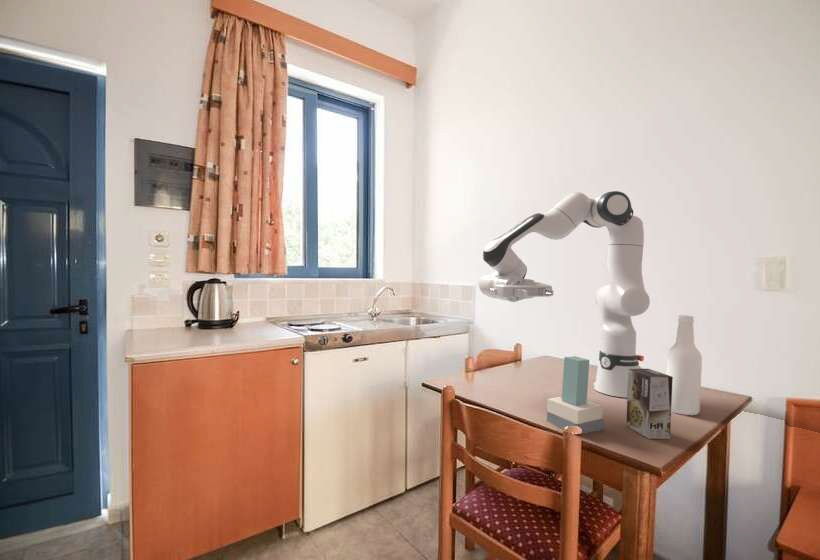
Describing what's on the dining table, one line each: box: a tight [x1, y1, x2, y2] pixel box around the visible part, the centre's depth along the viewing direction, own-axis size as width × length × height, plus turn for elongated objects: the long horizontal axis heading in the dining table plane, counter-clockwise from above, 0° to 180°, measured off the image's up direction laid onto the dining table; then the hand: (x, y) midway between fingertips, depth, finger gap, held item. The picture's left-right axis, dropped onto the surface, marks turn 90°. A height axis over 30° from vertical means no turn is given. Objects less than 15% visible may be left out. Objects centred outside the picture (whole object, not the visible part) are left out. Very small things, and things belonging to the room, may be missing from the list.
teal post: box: [561, 356, 590, 405], centre depth 105 cm, size 4×4×12 cm
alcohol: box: [666, 314, 703, 417], centre depth 120 cm, size 9×9×30 cm
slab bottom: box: [546, 411, 604, 435], centre depth 105 cm, size 10×10×4 cm
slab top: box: [546, 395, 604, 424], centre depth 105 cm, size 10×10×4 cm
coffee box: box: [625, 368, 673, 440], centre depth 102 cm, size 9×6×16 cm
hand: (540, 293), depth 120 cm, fingers open, 8 cm apart
